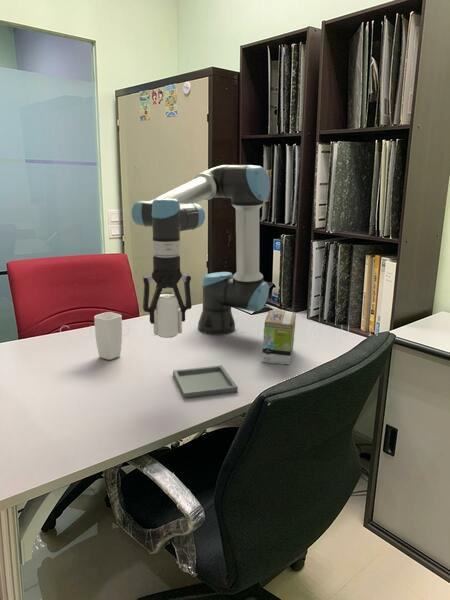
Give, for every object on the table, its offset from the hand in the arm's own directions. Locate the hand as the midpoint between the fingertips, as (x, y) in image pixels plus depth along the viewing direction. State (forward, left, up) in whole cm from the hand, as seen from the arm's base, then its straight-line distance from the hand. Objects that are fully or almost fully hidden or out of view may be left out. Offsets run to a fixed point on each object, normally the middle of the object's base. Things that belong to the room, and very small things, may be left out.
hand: (167, 332), depth 136 cm
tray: (+3, +11, -16) cm, 20 cm away
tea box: (-12, +42, -17) cm, 47 cm away
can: (0, 0, -1) cm, 1 cm away
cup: (-25, -15, -17) cm, 34 cm away
